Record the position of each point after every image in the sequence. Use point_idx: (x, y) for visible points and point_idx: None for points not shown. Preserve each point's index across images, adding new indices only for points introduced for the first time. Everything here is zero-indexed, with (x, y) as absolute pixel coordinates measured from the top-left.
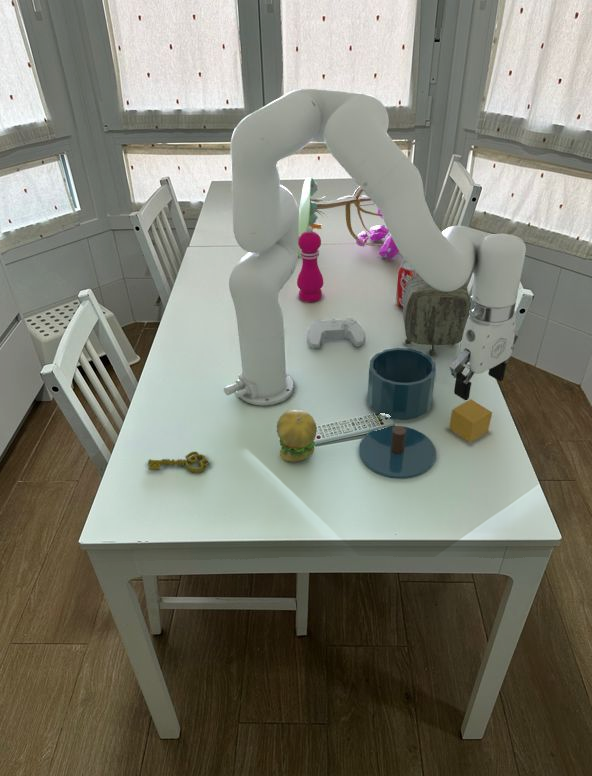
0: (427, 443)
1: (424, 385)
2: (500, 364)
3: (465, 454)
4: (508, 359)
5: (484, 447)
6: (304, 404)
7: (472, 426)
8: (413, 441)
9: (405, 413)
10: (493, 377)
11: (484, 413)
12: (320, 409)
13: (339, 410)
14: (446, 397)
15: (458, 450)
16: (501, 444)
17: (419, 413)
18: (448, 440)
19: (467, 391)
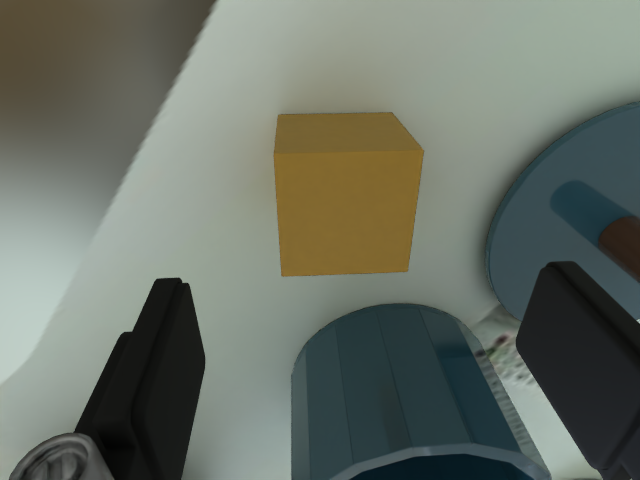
0: (528, 202)
1: (441, 422)
2: (153, 430)
3: (453, 78)
4: (30, 461)
5: (359, 57)
6: (557, 458)
7: (417, 144)
8: (549, 236)
9: (465, 339)
10: (198, 328)
11: (315, 170)
12: (551, 435)
13: (525, 417)
14: (251, 328)
15: (452, 113)
16: (283, 21)
17: (414, 318)
18: (429, 177)
19: (625, 317)
